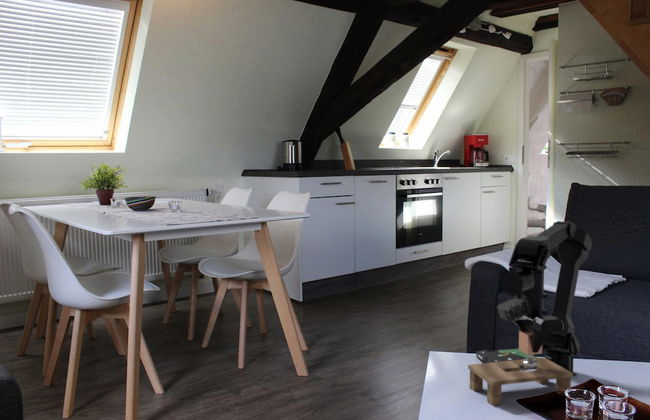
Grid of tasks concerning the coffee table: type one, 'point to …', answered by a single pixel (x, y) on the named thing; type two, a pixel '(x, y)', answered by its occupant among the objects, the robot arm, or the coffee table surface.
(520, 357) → the disk drive
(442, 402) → the coffee table surface
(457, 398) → the coffee table surface
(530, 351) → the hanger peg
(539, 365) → the wooden slotted stool
